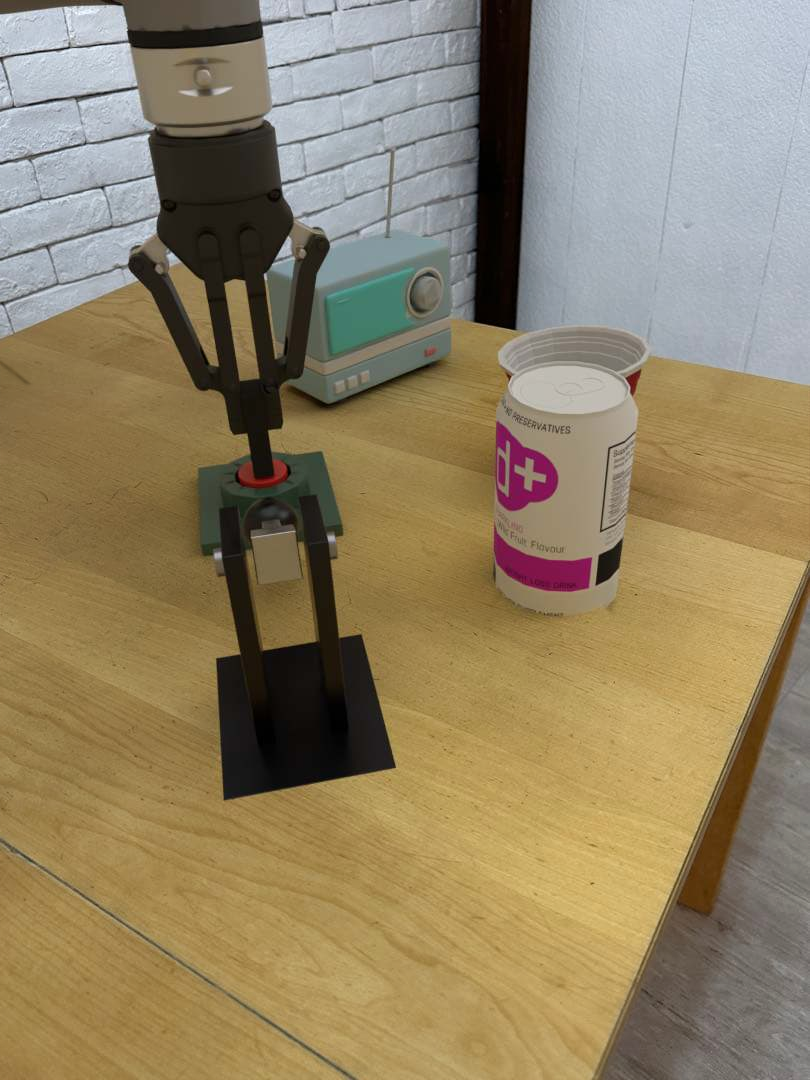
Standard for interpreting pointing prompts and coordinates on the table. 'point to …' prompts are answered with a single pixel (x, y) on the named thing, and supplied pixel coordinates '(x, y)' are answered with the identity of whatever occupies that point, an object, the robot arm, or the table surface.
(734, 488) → the table surface
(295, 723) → the bracket
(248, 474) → the button
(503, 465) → the supplement can
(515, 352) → the plastic cup
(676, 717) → the table surface
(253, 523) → the lever
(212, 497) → the button box
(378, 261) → the radio
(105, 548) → the table surface
